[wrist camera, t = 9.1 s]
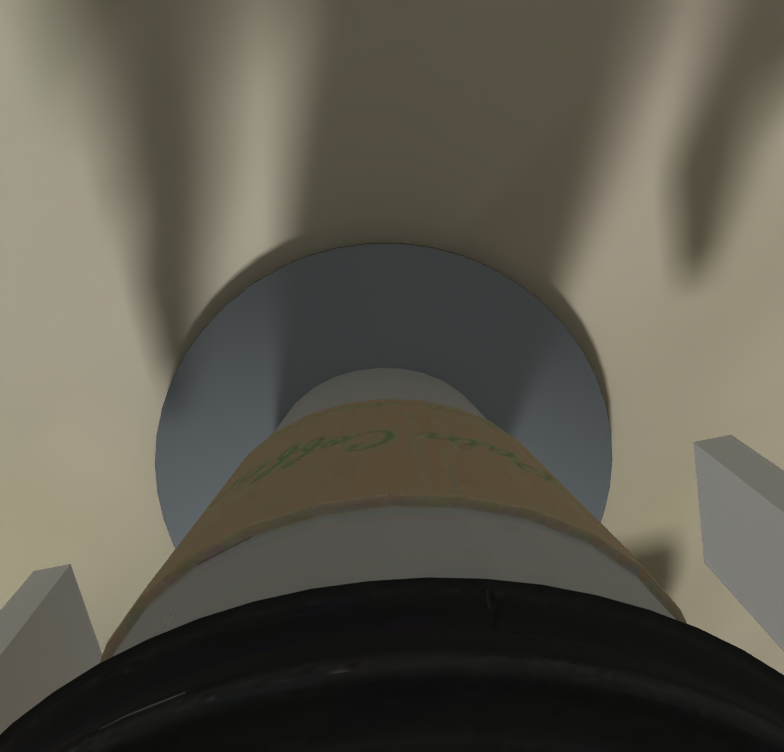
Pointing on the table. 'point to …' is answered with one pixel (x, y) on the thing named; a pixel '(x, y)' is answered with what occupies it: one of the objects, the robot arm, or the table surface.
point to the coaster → (378, 365)
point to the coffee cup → (404, 609)
